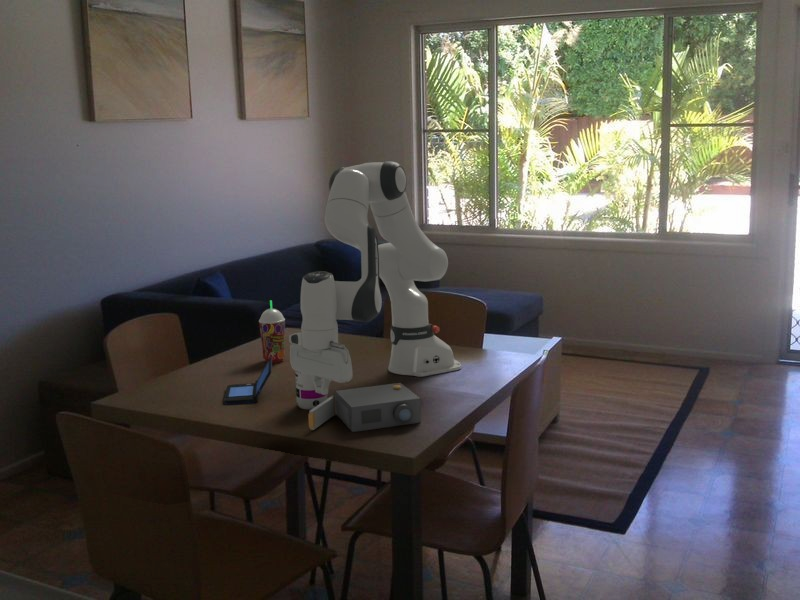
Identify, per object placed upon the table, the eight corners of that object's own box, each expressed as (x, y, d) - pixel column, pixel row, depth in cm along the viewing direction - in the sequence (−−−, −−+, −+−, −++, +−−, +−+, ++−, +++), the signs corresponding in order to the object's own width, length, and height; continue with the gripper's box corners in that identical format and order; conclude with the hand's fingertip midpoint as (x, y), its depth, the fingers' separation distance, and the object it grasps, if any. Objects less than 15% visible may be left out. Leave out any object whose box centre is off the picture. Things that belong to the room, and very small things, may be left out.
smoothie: (276, 365, 285) (272, 303, 281) (255, 362, 289) (252, 301, 285) (292, 359, 292) (289, 299, 288) (272, 356, 296) (269, 297, 292)
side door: (335, 414, 234) (335, 395, 233) (313, 431, 222) (312, 411, 221) (331, 414, 235) (331, 395, 234) (309, 431, 222) (308, 410, 221)
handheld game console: (227, 389, 261) (225, 358, 259) (273, 386, 262) (272, 356, 261) (223, 405, 246) (221, 373, 244) (273, 402, 247) (271, 370, 245)
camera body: (401, 405, 241) (400, 380, 239) (424, 425, 225) (423, 398, 223) (335, 414, 235) (334, 388, 234) (354, 435, 219) (353, 407, 217)
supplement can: (333, 404, 243) (331, 351, 240) (311, 412, 237) (308, 357, 234) (313, 399, 249) (310, 346, 246) (290, 406, 243) (288, 352, 240)
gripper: (357, 343, 214) (359, 398, 216) (304, 330, 228) (306, 383, 231) (337, 347, 209) (339, 404, 212) (284, 335, 224) (286, 388, 226)
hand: (321, 393), depth 221 cm, fingers closed
